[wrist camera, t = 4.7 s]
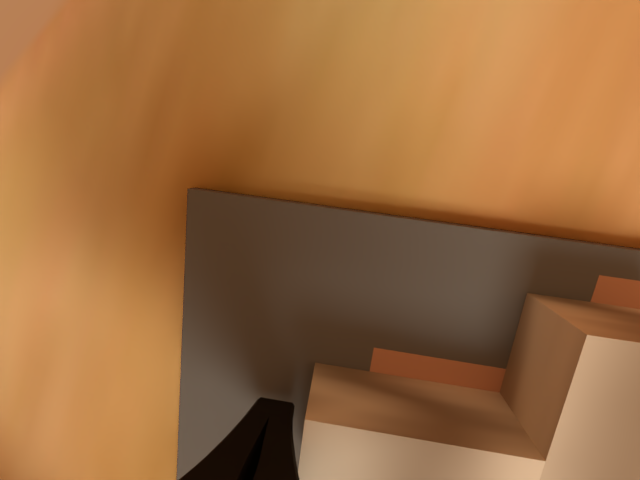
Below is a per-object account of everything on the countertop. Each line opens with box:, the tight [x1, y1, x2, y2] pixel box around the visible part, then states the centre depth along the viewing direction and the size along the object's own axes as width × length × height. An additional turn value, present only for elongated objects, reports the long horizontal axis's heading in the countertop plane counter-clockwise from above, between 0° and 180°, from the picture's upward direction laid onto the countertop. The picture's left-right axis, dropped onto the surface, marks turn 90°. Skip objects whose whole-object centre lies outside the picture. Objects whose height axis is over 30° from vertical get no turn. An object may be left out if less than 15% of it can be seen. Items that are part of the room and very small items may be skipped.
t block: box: [298, 293, 640, 480], centre depth 11 cm, size 11×12×3 cm
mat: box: [177, 188, 640, 480], centre depth 13 cm, size 21×16×1 cm
